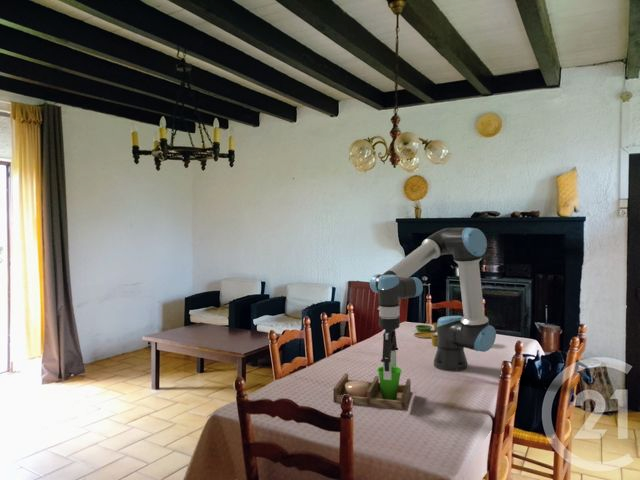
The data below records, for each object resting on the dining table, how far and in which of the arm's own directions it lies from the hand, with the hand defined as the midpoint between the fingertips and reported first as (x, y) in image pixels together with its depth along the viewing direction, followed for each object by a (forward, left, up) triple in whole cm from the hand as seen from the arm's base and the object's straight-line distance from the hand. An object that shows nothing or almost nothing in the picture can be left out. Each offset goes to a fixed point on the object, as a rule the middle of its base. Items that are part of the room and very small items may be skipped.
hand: (390, 373), depth 175 cm
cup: (0, +1, -10) cm, 10 cm away
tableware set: (-13, -104, -11) cm, 105 cm away
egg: (+13, 0, -9) cm, 16 cm away
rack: (+6, 0, -10) cm, 12 cm away
